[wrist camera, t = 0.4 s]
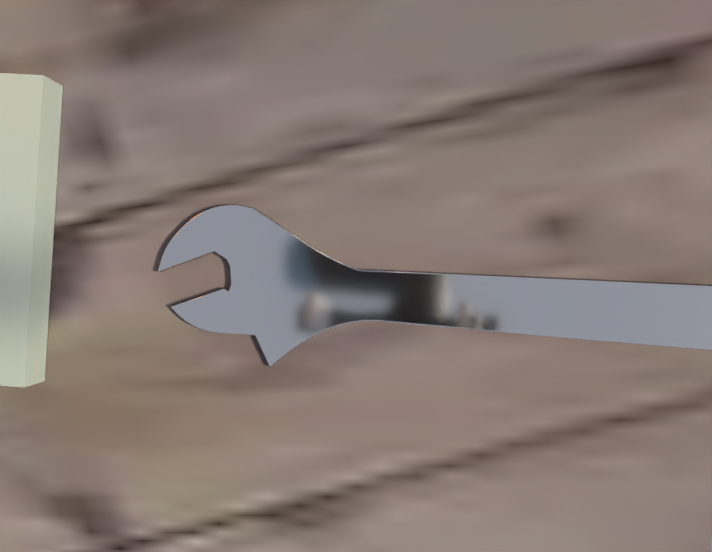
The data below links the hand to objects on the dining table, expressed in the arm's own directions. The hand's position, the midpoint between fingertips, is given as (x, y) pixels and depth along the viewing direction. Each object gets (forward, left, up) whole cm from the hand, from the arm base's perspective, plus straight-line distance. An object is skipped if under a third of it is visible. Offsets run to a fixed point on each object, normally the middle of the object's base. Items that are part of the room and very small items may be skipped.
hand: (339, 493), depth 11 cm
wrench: (-2, +4, -25) cm, 26 cm away
